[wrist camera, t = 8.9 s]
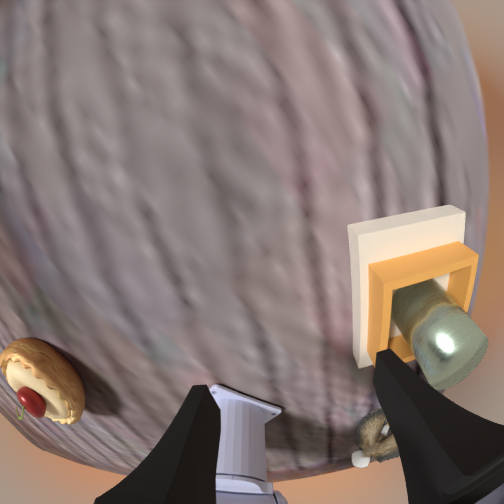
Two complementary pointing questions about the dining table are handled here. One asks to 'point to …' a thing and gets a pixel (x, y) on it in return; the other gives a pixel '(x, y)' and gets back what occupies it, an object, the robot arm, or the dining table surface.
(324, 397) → the dining table surface
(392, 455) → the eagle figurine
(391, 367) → the robot arm
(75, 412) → the pastry
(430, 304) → the green can
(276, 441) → the dining table surface
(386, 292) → the orange and cream box
